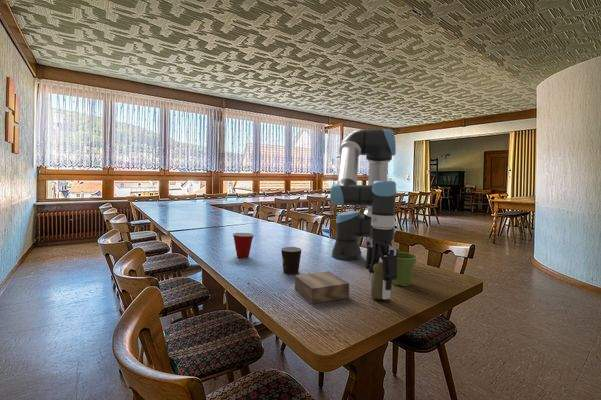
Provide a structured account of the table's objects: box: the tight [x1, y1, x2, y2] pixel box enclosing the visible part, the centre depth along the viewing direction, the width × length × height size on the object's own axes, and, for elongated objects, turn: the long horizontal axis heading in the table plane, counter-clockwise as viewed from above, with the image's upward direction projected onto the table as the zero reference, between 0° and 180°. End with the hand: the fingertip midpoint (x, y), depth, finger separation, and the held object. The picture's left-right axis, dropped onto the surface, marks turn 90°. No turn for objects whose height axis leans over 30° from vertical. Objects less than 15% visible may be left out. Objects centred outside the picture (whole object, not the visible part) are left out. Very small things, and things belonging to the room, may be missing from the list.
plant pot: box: [392, 251, 419, 287], centre depth 120 cm, size 12×12×11 cm
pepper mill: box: [370, 262, 385, 300], centre depth 103 cm, size 6×6×11 cm
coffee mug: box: [280, 246, 303, 275], centre depth 132 cm, size 12×9×10 cm
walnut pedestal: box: [294, 271, 350, 304], centre depth 108 cm, size 14×14×5 cm
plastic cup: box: [232, 232, 255, 259], centre depth 154 cm, size 11×11×12 cm
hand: (379, 294), depth 104 cm, fingers closed on pepper mill, 6 cm apart
